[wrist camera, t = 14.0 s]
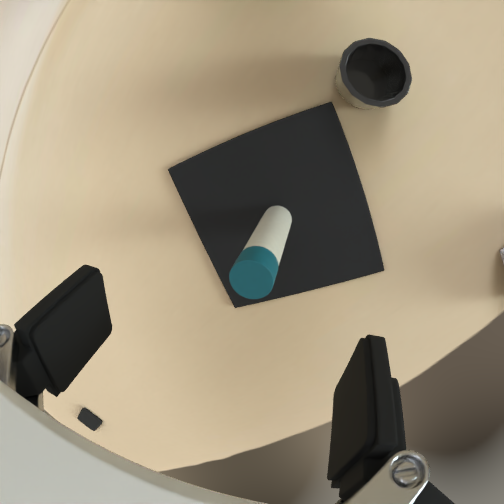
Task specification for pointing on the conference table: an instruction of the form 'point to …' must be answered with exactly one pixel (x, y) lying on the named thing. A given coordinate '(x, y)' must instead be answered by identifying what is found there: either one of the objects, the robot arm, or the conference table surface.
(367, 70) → the pen cup
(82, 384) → the conference table surface
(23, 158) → the conference table surface
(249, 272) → the marker
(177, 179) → the mat
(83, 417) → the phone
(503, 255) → the charger
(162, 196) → the conference table surface
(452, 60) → the conference table surface
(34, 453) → the robot arm
